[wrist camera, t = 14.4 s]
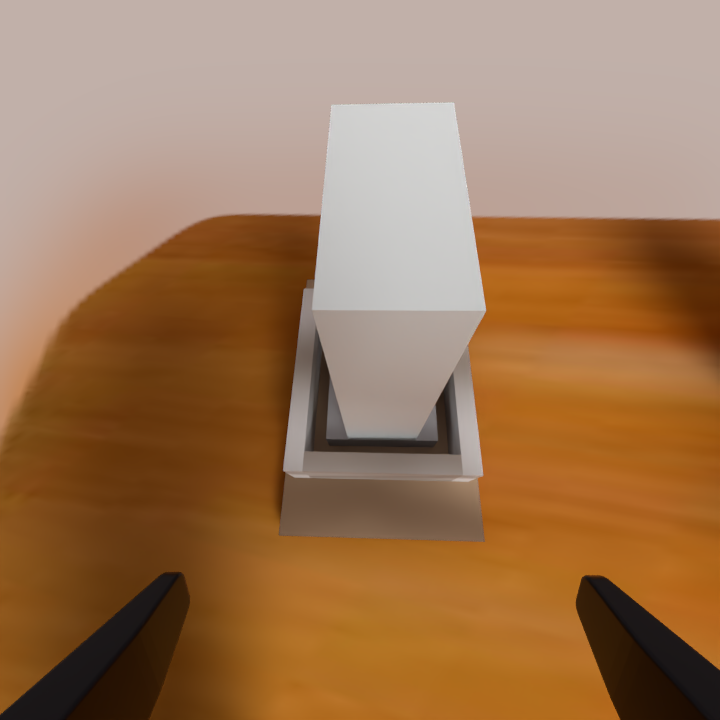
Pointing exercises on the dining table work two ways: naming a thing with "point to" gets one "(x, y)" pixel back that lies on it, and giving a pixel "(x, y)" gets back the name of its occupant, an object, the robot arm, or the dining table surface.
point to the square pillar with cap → (393, 270)
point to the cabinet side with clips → (378, 464)
